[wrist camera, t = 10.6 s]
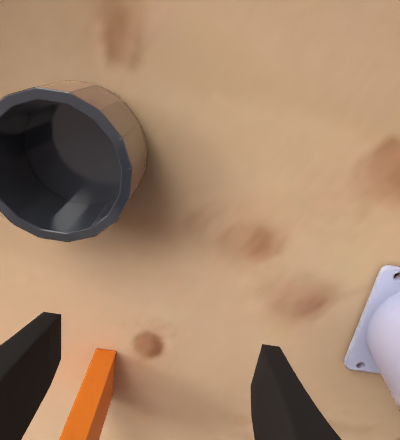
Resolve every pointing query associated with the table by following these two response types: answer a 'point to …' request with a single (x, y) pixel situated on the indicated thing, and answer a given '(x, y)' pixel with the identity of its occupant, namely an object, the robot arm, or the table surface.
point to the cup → (68, 159)
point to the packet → (92, 399)
